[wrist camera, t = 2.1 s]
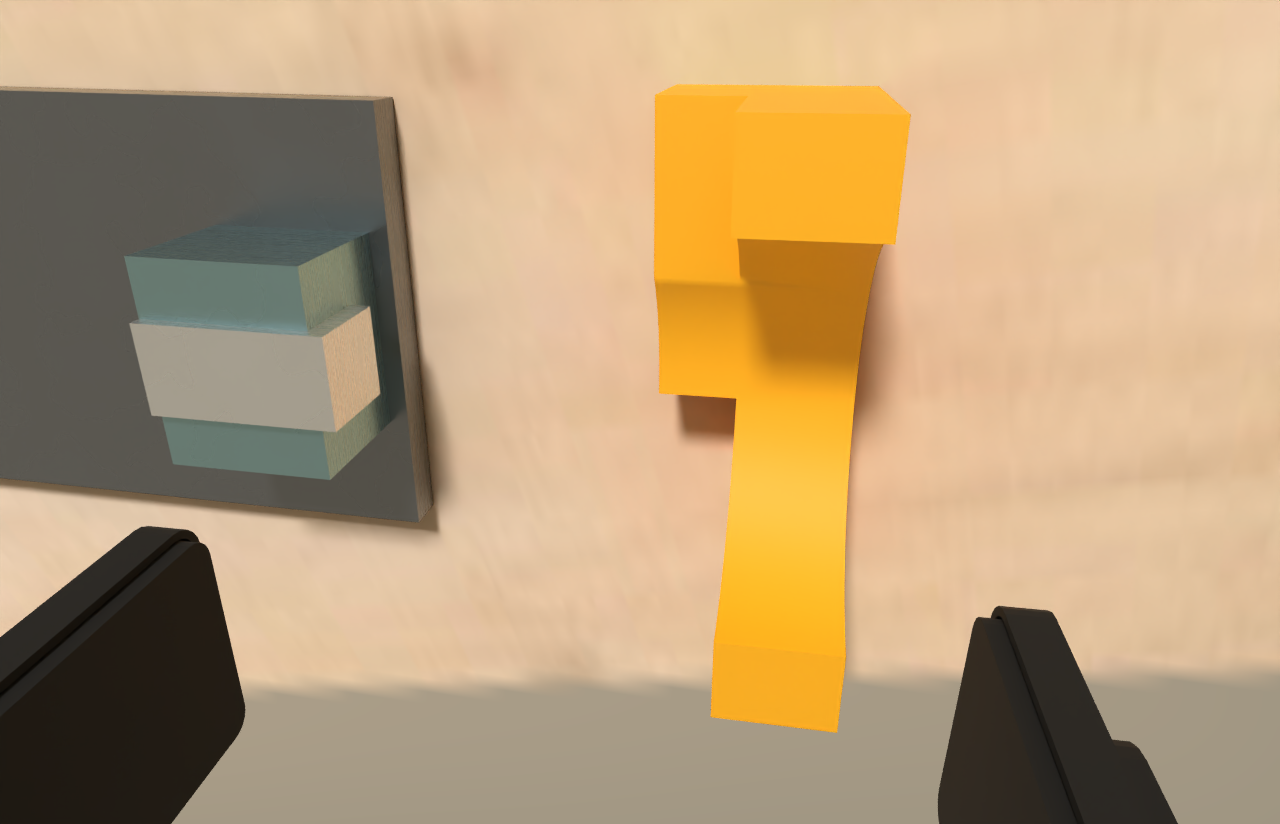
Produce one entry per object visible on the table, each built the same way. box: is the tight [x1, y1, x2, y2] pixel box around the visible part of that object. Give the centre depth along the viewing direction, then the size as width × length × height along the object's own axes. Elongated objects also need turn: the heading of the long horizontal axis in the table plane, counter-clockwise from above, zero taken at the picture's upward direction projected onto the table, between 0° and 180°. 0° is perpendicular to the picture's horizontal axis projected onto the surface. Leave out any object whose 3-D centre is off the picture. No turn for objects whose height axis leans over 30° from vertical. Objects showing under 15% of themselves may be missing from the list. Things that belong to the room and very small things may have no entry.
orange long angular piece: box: [654, 84, 911, 733], centre depth 19 cm, size 12×4×6 cm, turn 0°
